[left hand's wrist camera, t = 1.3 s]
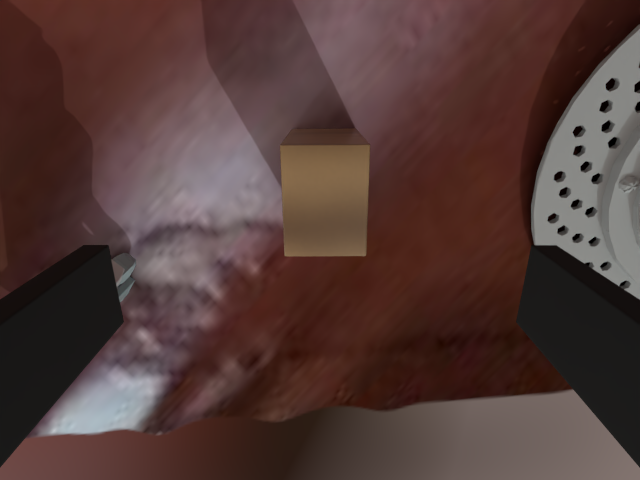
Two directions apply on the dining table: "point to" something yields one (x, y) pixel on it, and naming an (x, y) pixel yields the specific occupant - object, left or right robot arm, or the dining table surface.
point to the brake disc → (610, 162)
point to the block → (325, 192)
